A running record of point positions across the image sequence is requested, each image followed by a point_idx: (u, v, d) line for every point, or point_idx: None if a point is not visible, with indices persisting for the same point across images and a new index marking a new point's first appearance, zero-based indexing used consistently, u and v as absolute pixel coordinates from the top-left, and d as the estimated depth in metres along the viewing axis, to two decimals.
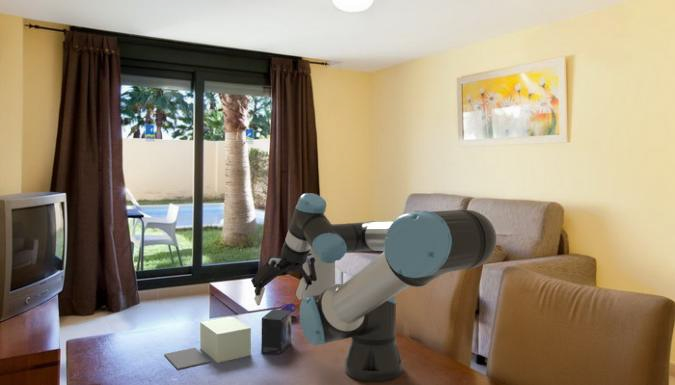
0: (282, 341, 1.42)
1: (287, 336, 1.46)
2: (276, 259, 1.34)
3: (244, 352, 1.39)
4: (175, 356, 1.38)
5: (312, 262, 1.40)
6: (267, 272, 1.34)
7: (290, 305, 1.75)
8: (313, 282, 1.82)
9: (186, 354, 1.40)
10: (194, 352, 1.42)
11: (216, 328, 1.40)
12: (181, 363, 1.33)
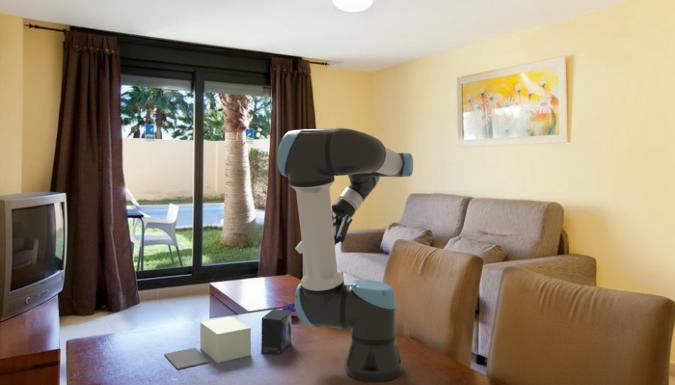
0: (282, 342, 1.42)
1: (287, 336, 1.46)
2: None
3: (244, 352, 1.39)
4: (175, 356, 1.38)
5: (345, 217, 1.55)
6: None
7: (292, 305, 1.75)
8: None
9: (186, 354, 1.40)
10: (194, 352, 1.42)
11: (216, 328, 1.40)
12: (181, 363, 1.33)
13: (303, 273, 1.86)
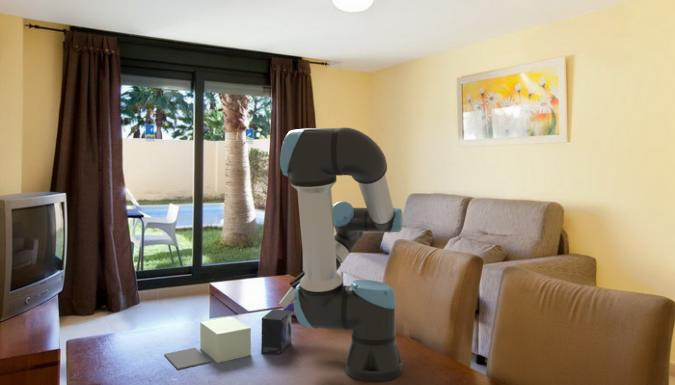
0: (282, 342, 1.42)
1: (287, 336, 1.46)
2: None
3: (244, 352, 1.39)
4: (175, 356, 1.38)
5: None
6: (302, 272, 1.61)
7: None
8: None
9: (186, 354, 1.40)
10: (194, 352, 1.42)
11: (216, 328, 1.40)
12: (181, 363, 1.33)
13: None
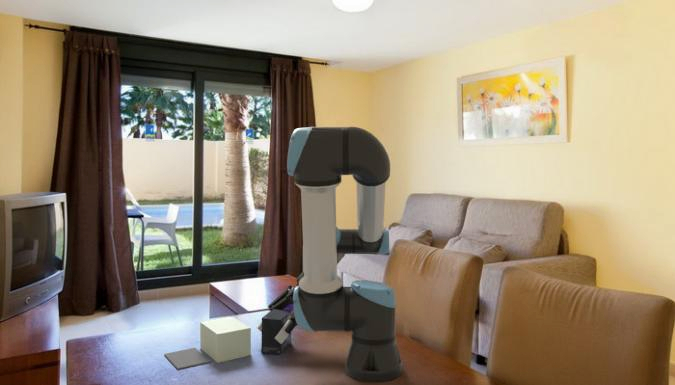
0: None
1: (287, 336, 1.46)
2: (294, 288, 1.55)
3: (244, 352, 1.39)
4: (175, 356, 1.38)
5: None
6: (281, 294, 1.55)
7: (293, 304, 1.77)
8: None
9: (186, 354, 1.40)
10: (194, 352, 1.42)
11: (216, 328, 1.40)
12: (181, 363, 1.33)
13: None
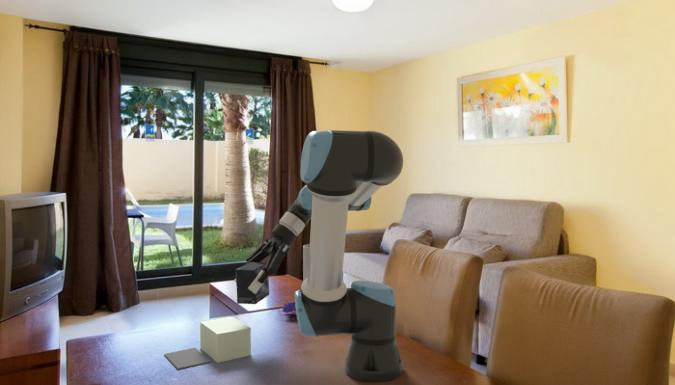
0: (257, 292, 1.43)
1: (264, 287, 1.48)
2: (270, 241, 1.56)
3: (244, 352, 1.39)
4: (175, 356, 1.38)
5: (280, 246, 1.45)
6: (258, 247, 1.56)
7: (293, 304, 1.77)
8: None
9: (186, 354, 1.40)
10: (194, 352, 1.42)
11: (216, 328, 1.40)
12: (181, 363, 1.33)
13: (303, 273, 1.86)
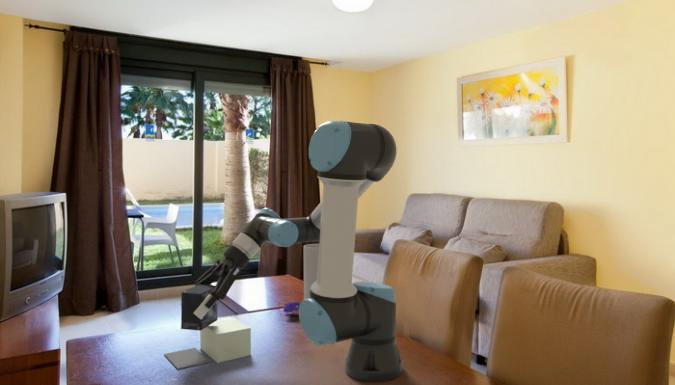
0: (203, 317, 1.34)
1: (211, 312, 1.39)
2: None
3: (244, 352, 1.39)
4: (175, 356, 1.38)
5: (231, 269, 1.38)
6: (209, 269, 1.47)
7: (294, 304, 1.77)
8: (314, 282, 1.82)
9: (186, 354, 1.40)
10: (194, 352, 1.42)
11: (216, 328, 1.40)
12: (181, 363, 1.33)
13: (304, 273, 1.86)
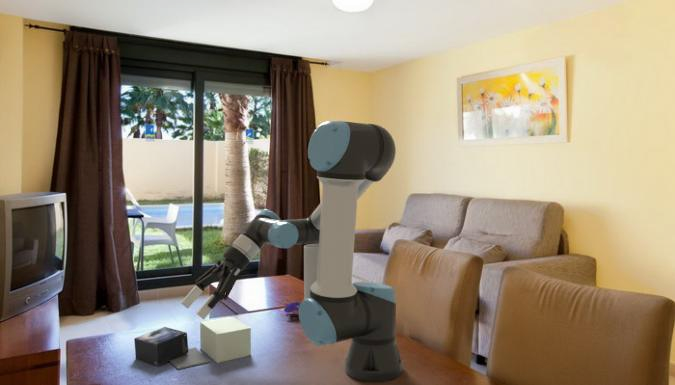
0: (174, 335, 1.38)
1: (164, 332, 1.40)
2: (222, 263, 1.48)
3: (244, 352, 1.39)
4: None
5: (232, 270, 1.38)
6: (209, 269, 1.48)
7: (295, 303, 1.77)
8: None
9: (186, 354, 1.40)
10: (194, 352, 1.42)
11: (216, 328, 1.40)
12: (181, 363, 1.33)
13: (304, 273, 1.86)
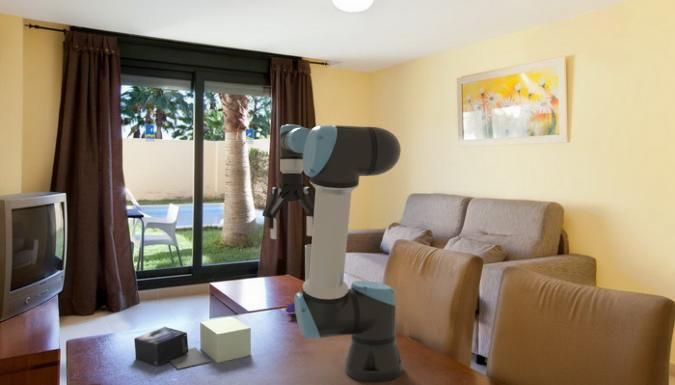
0: (174, 335, 1.38)
1: (164, 332, 1.40)
2: (277, 188, 1.57)
3: (244, 352, 1.39)
4: None
5: (309, 191, 1.62)
6: (273, 199, 1.55)
7: None
8: None
9: (186, 354, 1.40)
10: (194, 352, 1.42)
11: (216, 328, 1.40)
12: (181, 363, 1.33)
13: (305, 273, 1.86)
